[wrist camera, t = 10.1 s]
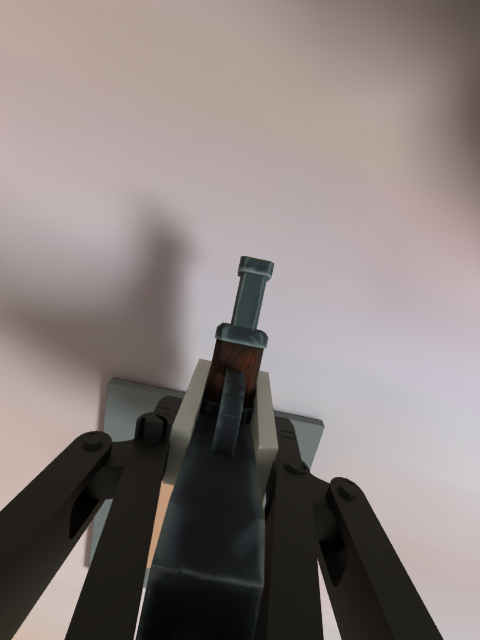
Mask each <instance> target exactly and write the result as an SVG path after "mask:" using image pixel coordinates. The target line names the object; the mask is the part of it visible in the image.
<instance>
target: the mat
mask: <svg viewBox="0 0 480 640" xmlns="http://www.w3.org/2000/svg"><path fill="white" fill-rule="evenodd" d="M185 394H186V393H183V392H178V391H173V390H168V389H163V388H158V387H154V386H149V385H144V384H139V383H134V382H129V381H124V380H119V379H114V378H112V379H111V380H110V381H109V382H108V390H107V399H106V409H105V418H104V428H103V432H105V433H107V434H109V436H110V437H111V438H112V442H118V441H128V440H131V439H134V436H135V428H136V420H137V419H138V417H139V416H141V415H143V414H145V413H149V412H153V411H154V409H155V408H156V406H157V404H158V402H159V400H160V399H162V398H163V397H165V396H166V395H168V396H173V397H178V398H183V399H184V396H185ZM274 416H278V417H283V418H288V419H289V420H290V421H291V423H292V424H293V425H294V428H295V434H296V437H297V441H298V446H299V450H300V455H301V459H302V461H304V462H305V463H306V465H307V466H308V467H309V470H310V468H311V465H312V462H313V459H314V456H315V453H316V450H317V447H318V445H319V442H320V439H321V436H322V433H323V430H324V427H325V426H324V424H323V421H321V420H316V419H311V418H306V417H301V416H296V415H291V414H286V413H282V412H277V411H274ZM112 501H113V499H106V500H105V502H104V503H103V505H102V506H101V508H100V509H99V511H98V512H97V514H96V515H95V517H94V523H93V532H92V542H91V551H90V561H89V567H90V565H91V562H92V559H93V556H94V553H95V550H96V547H97V544H98V541H99V539H100V536H101V533H102V530H103V527H104V524H105V521H106V518H107V515H108V512H109V510H110V507H111V504H112ZM262 503H263V510H264V507H265V504H266V493H265V496H264V500H263V502H262ZM149 572H150V568H146V573H145V578H144V584H143V587H145V588H146V587H147V582H148V577H149Z"/></svg>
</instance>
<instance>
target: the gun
mask: <svg viewBox="0 0 480 640" xmlns="http://www.w3.org/2000/svg"><path fill="white" fill-rule="evenodd" d="M273 267H274V263H273V262H271V261H266V260H261V259H257V258H252V257H247V256H241V259H240V264H239V269H238V276H239V277H240V282H239V287H238V291H237V296H236V301H235V306H234V311H233V316H232V320H231V324H228V323H222V324H220V325H219V326H218V327H217V330H216V335H215V338H217V340H216V344H215V349H214V354H213V359H212V364H211V369H210V373H209V378H208V383H207V388H206V390H205V393H204V396H203V399H202V404H201V409H200V413H199V416H198V419H197V422H196V425H195V428H194V431H193V434H192V437H191V440H190V443H189V446H188V447H187V450H186V453H185V456H184V459H183V462H182V465H181V467H180V470H179V473H178V476H177V479H176V482H175V485H174V488H173V491H172V493H171V496H170V499H169V502H168V506H167V510H166V513H165V517H164V520H163V524H162V528H161V531H160V535H159V538H158V542H157V546H156V549H155V553H154V556H153V560H152V564H151V568H150V572H149V577H148V582H147V587H146V592H145V597H144V602H143V606H142V611H141V616H140V621H139V626H138V631H137V636H136V640H253V636H254V632H255V627H256V622H257V618H258V613H259V608H260V603H261V599H262V594H263V589H264V554H265V516H264V510H263V503H262V496H261V490H260V483H259V477H258V470H257V463H256V458H255V452H254V445H253V438H252V432H251V425H250V421H251V417H252V412H253V405H252V403H253V398H254V393H255V388H256V383H257V379H258V374H259V369H260V364H261V360H262V355H263V350H264V348H266V346H267V341H268V336H267V335H266V333H265V332H263V331H261V330H257V324H258V319H259V315H260V310H261V305H262V300H263V295H264V291H265V286H266V282H267V281H268V280H269V279H270V278H271V277H272V272H273Z"/></svg>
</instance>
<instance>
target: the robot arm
mask: <svg viewBox="0 0 480 640" xmlns="http://www.w3.org/2000/svg"><path fill="white" fill-rule="evenodd" d="M211 364H212V361H208V360H203V359H199V361H198V364H197V366H196V369H195V371H194V374H193V376H192V379H191V381H190V384H189V386H188V389H187V391H186V394H185V396H184V399H183V398H178V397H173V396H168V395H166V396H165V397H163V398H162V399H160V400H159V402H158V404H157V406H156V408H155V409H154V411H153V412H149V413H145V414H143V415H141V416H139V417H138V419H137V420H136V428H135V436H134V439H131V440H128V441H118V442H112V438H111V437H110V436H109V434H107V433H105V432H100V431H92V432H87V433H84V434H82V435H80V436H79V437H77V438H76V439H75V440H74V441H73V442H72V443H71V444H70V445H69V446H68V447H67V448H66V449H65V450H64V451H63V452H62V453H60V454H59V455H58V456H57V457H56V458H55V459H54V460H53V461H52V462H51V463H50V464H49V465H48V466H47V467H46V468H45V469H44V470H43V471H42V472H41V473H40V474H39V475H38V476H37V477H36V478H35V479H34V480H32V481H31V482H30V483H29V484H28V485H27V486H26V487H25V488H24V489H23V490H22V491H21V492H20V493H19V494H18V495H17V496H16V497H15V498H14V499H13V500H12V501H11V502H10V503H9V504H8V505H7V506H6V507H4V508H3V509H2V510H1V511H0V640H11V639H12V638H13V636H14V635H15V633H16V632H17V630H18V629H19V627H20V626H21V625H22V623H23V622H24V620H25V619H26V617H27V616H28V614H29V613H30V611H31V610H32V608H33V607H34V605H35V604H36V602H37V601H38V599H39V598H40V596H41V595H42V594H43V592H44V591H45V589H46V588H47V586H48V585H49V583H50V582H51V580H52V579H53V577H54V576H55V574H56V573H57V571H58V570H59V568H60V567H61V565H62V564H63V562H64V561H65V560H66V558H67V557H68V555H69V554H70V552H71V551H72V549H73V548H74V546H75V545H76V543H77V542H78V540H79V539H80V537H81V536H82V534H83V533H84V531H85V530H86V528H87V527H88V526H89V524H90V523H91V521H92V520H93V518H94V517H95V515H96V514H97V512H98V511H99V509H100V508H101V506H102V505H103V503H104V502H105V500H106V499H113V501H112V504H111V507H110V510H109V512H108V515H107V518H106V521H105V524H104V527H103V530H102V533H101V536H100V539H99V541H98V544H97V547H96V550H95V553H94V556H93V559H92V562H91V565H90V567H89V570H88V573H87V576H86V579H85V582H84V585H83V588H82V591H81V593H80V596H79V599H78V602H77V605H76V608H75V611H74V614H73V617H72V619H71V622H70V625H69V628H68V631H67V634H66V637H65V640H134V634H135V628H136V623H137V617H138V612H139V606H140V601H141V595H142V589H143V584H144V578H145V573H146V567H147V562H148V556H149V550H150V545H151V539H152V534H153V528H154V523H155V517H156V511H157V506H158V500H159V495H160V489H161V483H162V480H163V483H164V484H169V485H175V482H176V479H177V476H178V473H179V470H180V467H181V465H182V462H183V459H184V456H185V453H186V450H187V447H188V446H189V443H190V440H191V437H192V434H193V431H194V428H195V425H196V422H197V419H198V416H199V413H200V409H201V404H202V399H203V396H204V393H205V390H206V388H207V383H208V378H209V373H210V369H211ZM252 405H253V412H252V417H251V421H250V425H251V432H252V438H253V445H254V452H255V458H256V463H257V470H258V477H259V483H260V490H261V496H262V502H263V500H264V496H265V493H266V504H265V507H264V516H265V554H264V589H263V594H262V599H261V603H260V608H259V613H258V618H257V622H256V627H255V632H254V636H253V640H324V638H323V625H322V613H321V600H320V588H319V576H318V563H317V559H318V562H319V565H320V569H321V572H322V575H323V579H324V582H325V585H326V589H327V592H328V595H329V599H330V602H331V605H332V609H333V612H334V616H335V619H336V622H337V626H338V629H339V632H340V636H341V639H342V640H443V638H442V636H441V634H440V632H439V631H438V629H437V627H436V625H435V623H434V621H433V620H432V618H431V616H430V614H429V612H428V610H427V608H426V607H425V605H424V603H423V601H422V599H421V597H420V596H419V594H418V592H417V590H416V588H415V586H414V585H413V583H412V581H411V579H410V577H409V575H408V574H407V572H406V570H405V568H404V566H403V564H402V563H401V561H400V559H399V557H398V555H397V553H396V552H395V550H394V548H393V546H392V544H391V542H390V541H389V539H388V537H387V535H386V533H385V531H384V530H383V528H382V526H381V524H380V522H379V520H378V519H377V517H376V515H375V513H374V511H373V509H372V508H371V506H370V504H369V502H368V500H367V498H366V497H365V495H364V493H363V492H362V490H361V489H360V488H359V487H358V486H357V485H356V484H355V483H354V482H352V481H350V480H348V479H346V478H342V477H335V478H333V479H332V480H331V482H330V483H327V482H325V481H323V480H321V479H319V478H317V477H315V476H313V475H312V474H311V473H310V470H309V467H308V466H307V465H306V463H305V462H304V461H302V459H301V455H300V450H299V446H298V441H297V437H296V434H295V428H294V425H293V424H292V423H291V421H290V420H289V419H288V418H283V417H278V416H274V411H273V404H272V396H271V388H270V381H269V373H267V372H262V371H259V374H258V379H257V383H256V388H255V393H254V398H253V403H252Z"/></svg>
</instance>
